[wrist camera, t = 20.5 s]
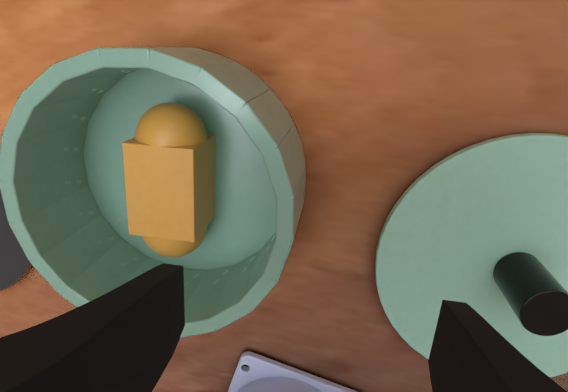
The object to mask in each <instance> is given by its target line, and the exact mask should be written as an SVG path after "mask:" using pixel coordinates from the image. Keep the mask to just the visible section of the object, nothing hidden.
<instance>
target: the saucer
mask: <svg viewBox="0 0 568 392" xmlns="http://www.w3.org/2000/svg"><path fill="white" fill-rule="evenodd" d="M31 267H32V264H31V263H30V261H29V260H28V258H27V257H26V255H25V253H24V251H23V249H22V247H21V246H20V244H19V242H18V240H17V238H16V236H15V234H14V233H13V231H12V229H11V227H10V225H9V222H8V220H7V216H6V211H5V207H4V203H3V199H2V194H1V190H0V290H3V289H6V288H7V287H9V286H11V285H13V284H14V283H16V282H17V281H18V280H20V279H21V278H22V277H23V276H24V275H25V274H26V273H27V272H28V271H29V270H30V269H31Z"/></svg>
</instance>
